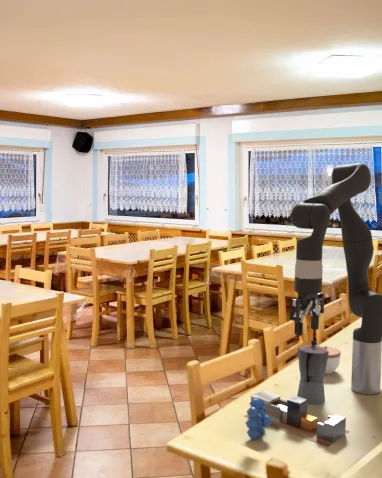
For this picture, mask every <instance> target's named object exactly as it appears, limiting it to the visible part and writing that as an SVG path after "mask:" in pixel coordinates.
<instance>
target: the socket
mask: <svg viewBox="0 0 382 478" xmlns="http://www.w3.org/2000/svg"><path fill="white" fill-rule="evenodd" d="M321 422H322V421H320V422H318V423H317V437H316V438H319V439H322V440H325V441H328V442H330V443H333V444H335V443H336V442H337V441H339V440H340V439H341V438H343V437H345V436H346V435H345V430H347V429H346V428H347V426H346V422H347V417H346V416H342V415H341V414H340V415H339V414H337V413H336V414H335V415H331V414H329V415H327V420H325V421H324V422H323V423H321ZM338 439H339V440H338Z"/></svg>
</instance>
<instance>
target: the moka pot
mask: <svg viewBox="0 0 382 478" xmlns="http://www.w3.org/2000/svg"><path fill="white" fill-rule="evenodd" d="M310 342H311V344H309V345H308V344H305V345H302V346H298V347H297V357H298V358H297V359H298V370H299V374H300V379H299V384H298V389H297V393H296V394H297V395H296V396H298V397H301V398H304V399H307V406H308V405H309V406H310V405H311V406H312V405H315V406H317V405H321V404H324V403H325V402H326V397H325V395H326V394H325V384H324V376H325V375H326V374H325V371H326V365H327V359H328V354H329V352H328V350H327V349H326V348H323V347H320V345H318V344H316V343H317V341H316V340H315V339H314V340H311V341H310Z"/></svg>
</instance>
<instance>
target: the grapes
mask: <svg viewBox="0 0 382 478" xmlns="http://www.w3.org/2000/svg"><path fill="white" fill-rule="evenodd" d="M249 405H250V407H249V408H248V409H247V410H246V413H247V414H248V415H249V417H248V418H247V420H246V422H245V425H246V427H247V428H248V429H247V431H246V433H247V435H248V437H249V439H251V440H254V439H258V438H262V437H263V436H262V435H263V433H265V432H266V431H265V427H268V426H269V425H270V424H271V423H272V420H271V419H270V417H269V416H268V415H265V412H266V408H265V406H264V402H263V400H262V399H261V398H256V399H253V400H252V401H251V400H250V402H249ZM247 414H246V415H247Z"/></svg>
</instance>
